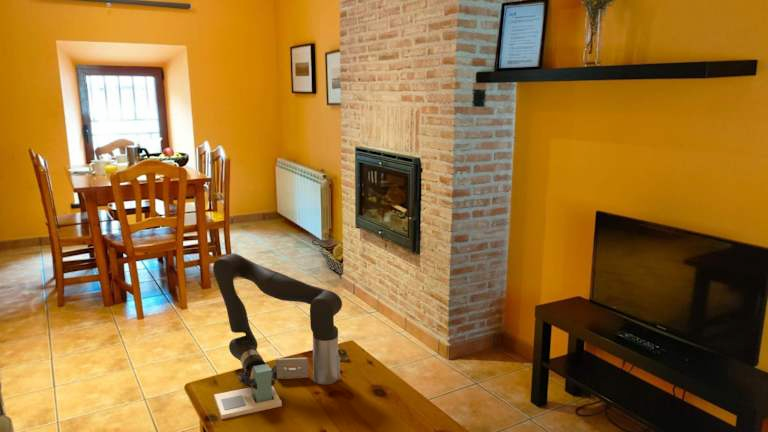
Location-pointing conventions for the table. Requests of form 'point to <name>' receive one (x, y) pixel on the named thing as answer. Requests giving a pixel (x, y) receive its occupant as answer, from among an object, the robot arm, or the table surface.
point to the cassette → (292, 372)
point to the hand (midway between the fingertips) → (264, 385)
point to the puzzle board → (243, 402)
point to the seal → (343, 354)
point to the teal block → (262, 383)
